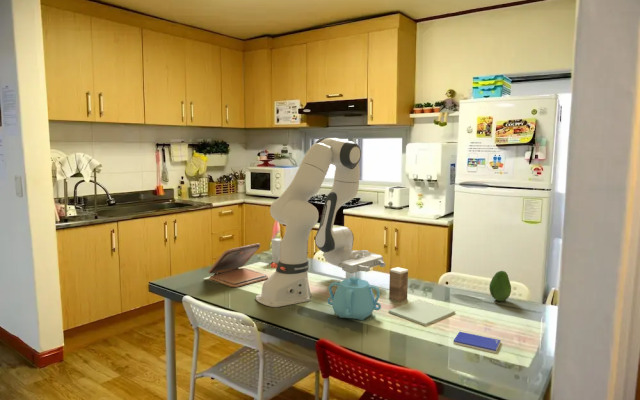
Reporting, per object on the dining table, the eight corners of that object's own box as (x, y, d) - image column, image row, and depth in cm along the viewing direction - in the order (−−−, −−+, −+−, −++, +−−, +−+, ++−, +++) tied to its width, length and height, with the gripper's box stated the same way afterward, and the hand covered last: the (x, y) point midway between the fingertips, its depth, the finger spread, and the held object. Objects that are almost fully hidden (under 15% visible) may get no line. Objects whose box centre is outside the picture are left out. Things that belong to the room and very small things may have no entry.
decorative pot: (384, 320, 156) (385, 282, 154) (342, 326, 150) (343, 286, 149) (363, 304, 171) (364, 269, 169) (324, 309, 165) (325, 273, 164)
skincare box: (285, 263, 230) (285, 239, 228) (278, 264, 227) (278, 241, 225) (278, 260, 234) (278, 237, 233) (271, 262, 231) (271, 238, 230)
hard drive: (500, 339, 138) (459, 330, 145) (496, 349, 131) (453, 340, 138) (500, 344, 138) (459, 335, 145) (495, 354, 132) (453, 344, 138)
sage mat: (425, 325, 151) (425, 323, 151) (388, 312, 163) (388, 310, 163) (455, 313, 162) (455, 310, 162) (418, 301, 174) (418, 299, 174)
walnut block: (399, 302, 174) (399, 271, 172) (389, 298, 177) (389, 269, 176) (407, 299, 177) (408, 269, 175) (397, 295, 181) (398, 267, 179)
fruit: (510, 299, 178) (512, 269, 176) (510, 305, 171) (511, 274, 169) (489, 296, 181) (491, 267, 180) (487, 302, 174) (489, 272, 172)
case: (243, 270, 217) (242, 237, 215) (271, 279, 203) (270, 244, 201) (206, 279, 203) (205, 244, 201) (233, 289, 188) (232, 252, 186)
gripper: (335, 258, 188) (359, 264, 178) (368, 249, 202) (392, 255, 191) (335, 272, 189) (359, 280, 179) (368, 263, 203) (392, 269, 192)
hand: (376, 267), depth 185 cm, fingers open, 8 cm apart
